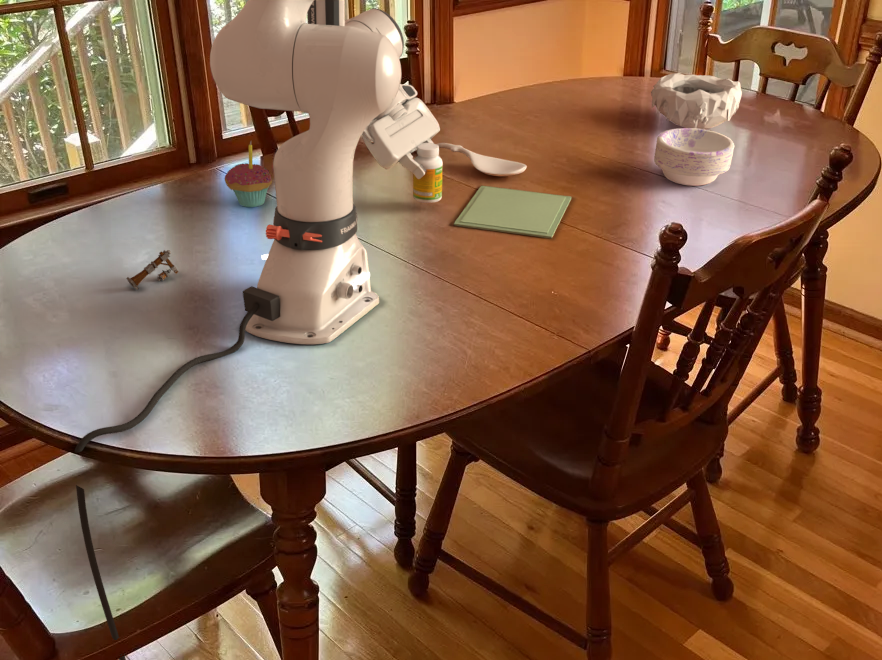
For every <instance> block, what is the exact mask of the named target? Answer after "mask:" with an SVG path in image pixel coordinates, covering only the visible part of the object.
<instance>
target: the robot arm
mask: <svg viewBox="0 0 882 660" xmlns="http://www.w3.org/2000/svg"><path fill="white" fill-rule="evenodd" d="M345 2H346V1H345V0H247V1H246V3H245V5H243V7H242V9H241V10H240V11H239V12H237V15H235V16H234V18H232V19H231V20H230V21H229V22H228V23H226V24H225V25H224V26H223V27H221V29H220V30H219V31H218V32H217V34H216V36H215V37H214V40H213V42H212V45H211V49H210V54H209V65H210V72H211V75H212V79H213V81H214V83H215V85H216V86H217V88H218V90H219V91H220V93H221V94H222V95H223V96H224V97H225V99H227V100H229V101H233V102H236V103H239V104H242V105H246V106H248V107H253V108H257V109H263V110H276V111H288V112H300V113H301V112H302V113H305V114H308V116H309V128H308V130H306V131H303V132H301V133H299V134H297V135H295V136H293V137H291V138H289V139H287V140H286V141H285V142H283V143H282V144H281V145H280V146H279V147H278V149H277V150H276V152H275V153H274V157H273V161H272V168H273V178H274V179H273V180H274V189H275V200H276V206H275V208H274V214H273V215H274V216H273V219H272V224H268V225H267V226H266V228H265V237H266V239H267V240H273V241H272V243H271V246H270V249H269V252H268V253H266V254H263V255H262V254H261V260H263V261H264V260H265V261H264V265H263V267H262V270H261V273H260V275H259V279H258V281H257V285H256V286H253V285H251V286H249V287H247V288H245V289H244V290H242V299H243V306H244V308H243V309H244V311H245V312H246V313H245V314H244V316H243V318H242V320H241V322H240V324H239V328H238V336H237V337H238V338H237V341H236V342H235V343H234V344H233V345H232V346H230V347H229V348H227V349H226V350H223V351H219V352H214V353H210V354H203V355H200V356H197V357H194V358H193V359H191V360H189V361H187V362H185V364H183V365H182V366H180V367H178V368H177V370H175V371H174V372H173V373H172V374H171V375H170V376H169V378H167V380H166V381H165V382H164V383H163V384H162V385H161V386H160V387H159V388H158V389H157V391H155V392H154V393H153V395H152V396H151V397H150V399H149V401H148V402H147V404H146V405H145V407H144V408H143V409H142V410H141V411H140V412H139V413H138V414H137V415H136V416H135V417H133V418H132V419H131V420H129V421H127V422H125V423H122V424H117V425H112V426H106V427H100V428H97V429H95V430H94V429H93V430H92V431H90V432H88V433H87V434H85V435H84V436H83V437H82V438H81V439H80V440H79V441H78V443H77V444H76V447H75V448H74V453H80V452H82V451H83V450H84V449H85V447H86V446H87V445H88V444H89V443H90V442H91V441H92V440H94V439H95V438H98V437H101V436H106V435H110V434H117V433H121V432H125V431H128V430H131V429H132V428H135V427H136V426H138V425H139V424H140V423H141V422H142V421H144V420H145V419H146V418H147V417H148V416H149V415H150V413H151V412H152V411H153V409H154V408H155V406H156V405H157V403H158V402H159V400H160V399H161V398H162V397H163V395H164V394H166V393H167V391H169V389H170V388H171V387H172V386H173V384H175V383H176V382H177V380H178V379H179V378H180V377H181V376H182V375H183V374H184V373H185V372H187V371H188V370H190V369H191V368H193V367H195V366H197V365H198V364H201V363H204V362H209V361H213V360H217V359H220V358H223V357H227V356H229V355H232V354H233V353H236V352H237V351H238V350H239V349H240V348H241V347H242V346H243V344H244V342H245V337H246V332H247V333H249V334H250V335H253V336H255V337H258V338H262V339H266V340H270V341H275V342H281V343H288V344H294V345H295V344H296V345H321V344H329V343H331V342H332V341H334V340H335V339H336V338H337V337H339V336H340V335H342V334H343V333H344V332H346V330H348V329H349V328H350V327H352V326H353V325H354V324H355V323H357V322H358V321H359V320H360V319H361V318H363V317H364V316H365V315H367V314H368V313H370V311H372V310H373V309H374V308H375V307H377V306H378V305H379V304H380V298H379V297H380V296H379V295H378V294H377V293H376V292H375V291H373V290H372V289H371V288H372V287H371V280H370V277H371V272H370V269H369V261H368V260H369V259H368V251H367V250H366V248H365V247H364V245H363V244H362V242H361V241H360V239H359V237H358V236H357V232H358V213H357V206H356V204H355V203H354V199H353V198H354V195H353V188H354V187H353V185H354V184H353V181H354V180H353V177H354V176H353V175H354V158H355V153H356V149H357V147H358V143H359V141H360V139H361V136H362V140H363V143H364V145H365V146H366V148H367V149H368V151H369V152H370V154H371V156H373V158H374V160H375V161H376V162H377V164H378V165H379V166H380V167H381V168H383V169H385V170H389V169H390V168H392V167H393V166H395V165H396V164H398V163H399V164H400V165H401V166H402V168H404V169H406V170H407V171H409V172H410V173H412V175H413V174H414V175H415V176H416V178H417V179H420V178H421V177H423V176H424V175H425V174H426V173H427V170H426V169H425V168H424V166H423V165H422V164H421V165H419V164H418V163H417V162H416V161H414V156H413V155H412V153H414V152H416V151H415V150H416V149H417V146H419V145H420V144H421V143H433V144H435V142H434V141H433V140H432V139H433V138H434V137H435V136H437V134H438V133H439V132H440V131H441V128H440V124H439V122H438V119H436V117H435V116H434V114H433V113H432V112H431V110H430V109H429V108H428V106H427V105H426V103H425V102H423V100H422V99H420V98H418V97H417V96H418V91H417V90H416V89H415V87H414V86H413V85H412V84H402V83H401V82H402V65H401V59H400V58H401V57H402V55H403V53H404V47H405V42H404V40H405V39H404V36H403V32H402V30H401V27H400V26H399V24H398V22H397V21H396V20H395V19H394V18H393V16H391V14H389V13H387V12H386V11H384V10H382V9H379V8H375V7H373V8H370V9H368V10H365V11H363V12H361V13H359V14H357V15H356V16H353V17H351V18H348V19H346V17H345V15H346V12H345V11H346V9H345V8H346V7H345V5H346V4H345ZM306 21H307V22H306ZM438 157H440V158H441V156H440V154H439V155H438ZM75 488H76V497H77V498H76V499H77V507H78V513H79V520H80V527H81V531H82V536H83V541H84V546H85V551H86V554H87V559H88V562H89V567H90V569H91V573H92V574H91V575H92V577H93V580H94V585H95V588H96V592H97V594H98V598H99V601H100V604H101V607H102V611H103V613H104V617H105V620H106V623H107V627H108V629H109V632H110V636H111V639H112V638H113V639H114V640H117V639H118V638H120V636H119V632H118V628H117V626H116V623H115V619H114V617H113V613H112V609H111V606H110V603H109V600H108V596H107V593H106V590H105V586H104V583H103V580H102V576H101V572H100V569H99V565H98V561H97V556H96V552H95V548H94V545H93V540H92V539H93V538H92V534H91V530H90V525H89V518H88V517H89V516H88V512H87V504H86V494H85V489H84V488H83V487H81V486H79V485H77V484H76V485H75ZM113 639H112V640H113ZM121 655H122V654H121ZM121 655H120V656H121ZM118 660H127V659H126V656H125V654H124V656H122V657H120V658H118Z"/></svg>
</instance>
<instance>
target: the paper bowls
mask: <svg viewBox="0 0 882 660" xmlns="http://www.w3.org/2000/svg"><path fill="white" fill-rule="evenodd" d="M734 150H735V142H734V141H733V140H732V139H731V138H730V137H729V136H727V135H725V134H722V133H720V132H717V131H713V130H710V129H696V128H686V127H678V128H670V129H667V130H663V131H662V132H660V133H659V134H658V136H657V138H656V143H655V151H654V157H653V161H654V164H655V165H656V166H657V167H658V168H659V169H661V170H662V173H663V175H664V177H665V178H666V179H667V180H669V181H671V182H672V183H675V184H678V185H682V186H691V187H697V186H705V185H709V184H711V183H713V182H714V181H715V180H716V179H717V178H718V176H719V175H722V174H724V173H726V172H728V171H729V170H730V168H731V165H732V160H733V155H734Z"/></svg>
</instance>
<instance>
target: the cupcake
mask: <svg viewBox="0 0 882 660" xmlns="http://www.w3.org/2000/svg"><path fill="white" fill-rule="evenodd" d="M224 182H225V185H226V187H227V188H228V189H229V190H231V191H233V193H234V195H235V198H236V200H237V202H238V203H239V204H238V205H240V206H242V207H244V208H255V207H260V206H263V205H264V204H265V202H266V197H267V193H268V190H269V187H270V185H272V184H273V180H272V176H271V171H269V170H268V169H267V168H266V167H265V166H262V165H261V164H257V163H256V164H255V163H253V145H252V140H250V141H249V144H248V163H247V162H245V163H237V164H236V165H234V166H232V168H230V169H229V170H228V171H227V172H226V174H225V175H224Z"/></svg>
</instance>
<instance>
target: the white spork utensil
mask: <svg viewBox="0 0 882 660" xmlns="http://www.w3.org/2000/svg"><path fill="white" fill-rule="evenodd" d="M436 144H437V145H438V146H439V149H446V150H450V151H451V152H453V153H461V154H464V155H465V156H467V157H468V158H469V160H470V162H471V164H472V166H473V167H474V168H475V169H476V170H477V171H479V172H481V173H483V174H485V175H488V176H493V177H509V176H510V177H511V176H514V175H519V174H522V173H524V172H525V171H526V169H527V167H528V166H527V165H526V164H525V163H522V162H520V161H519V162H518V161H514V160H508V159H503V158H500V157H498V158H497V157H494V156H489V155H483V154H480V153H478V152H474V151H471V150H469V149H467V148H464V147H463V145H460V144H452V143H448V142H438V143H436ZM414 152H417V149H416V150H415V151H414Z"/></svg>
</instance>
